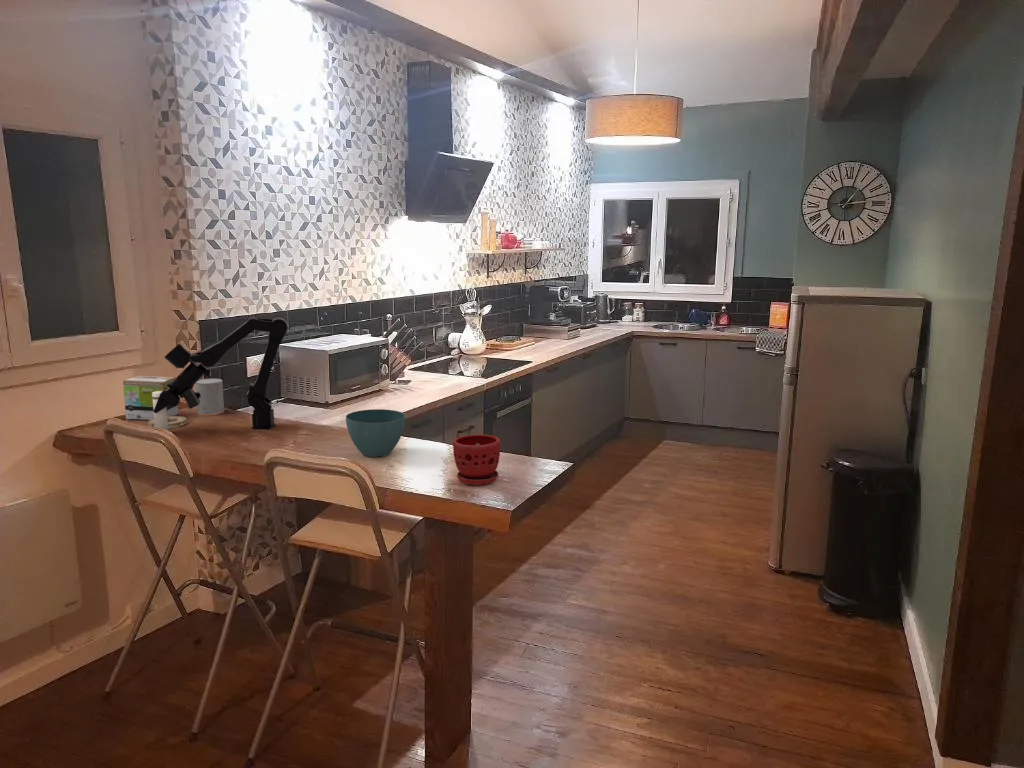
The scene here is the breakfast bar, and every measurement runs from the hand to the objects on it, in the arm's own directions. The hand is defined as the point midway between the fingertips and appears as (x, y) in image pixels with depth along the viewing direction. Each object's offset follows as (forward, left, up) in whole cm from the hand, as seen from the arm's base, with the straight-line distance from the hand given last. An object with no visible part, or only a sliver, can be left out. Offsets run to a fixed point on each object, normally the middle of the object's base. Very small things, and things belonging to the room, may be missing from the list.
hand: (155, 410), depth 249 cm
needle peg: (-1, 0, -8) cm, 8 cm away
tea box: (+13, -20, -8) cm, 26 cm away
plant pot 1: (-79, +15, -8) cm, 81 cm away
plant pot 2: (-113, +37, -8) cm, 120 cm away
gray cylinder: (-4, -30, -8) cm, 31 cm away
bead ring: (+2, -11, -8) cm, 14 cm away
